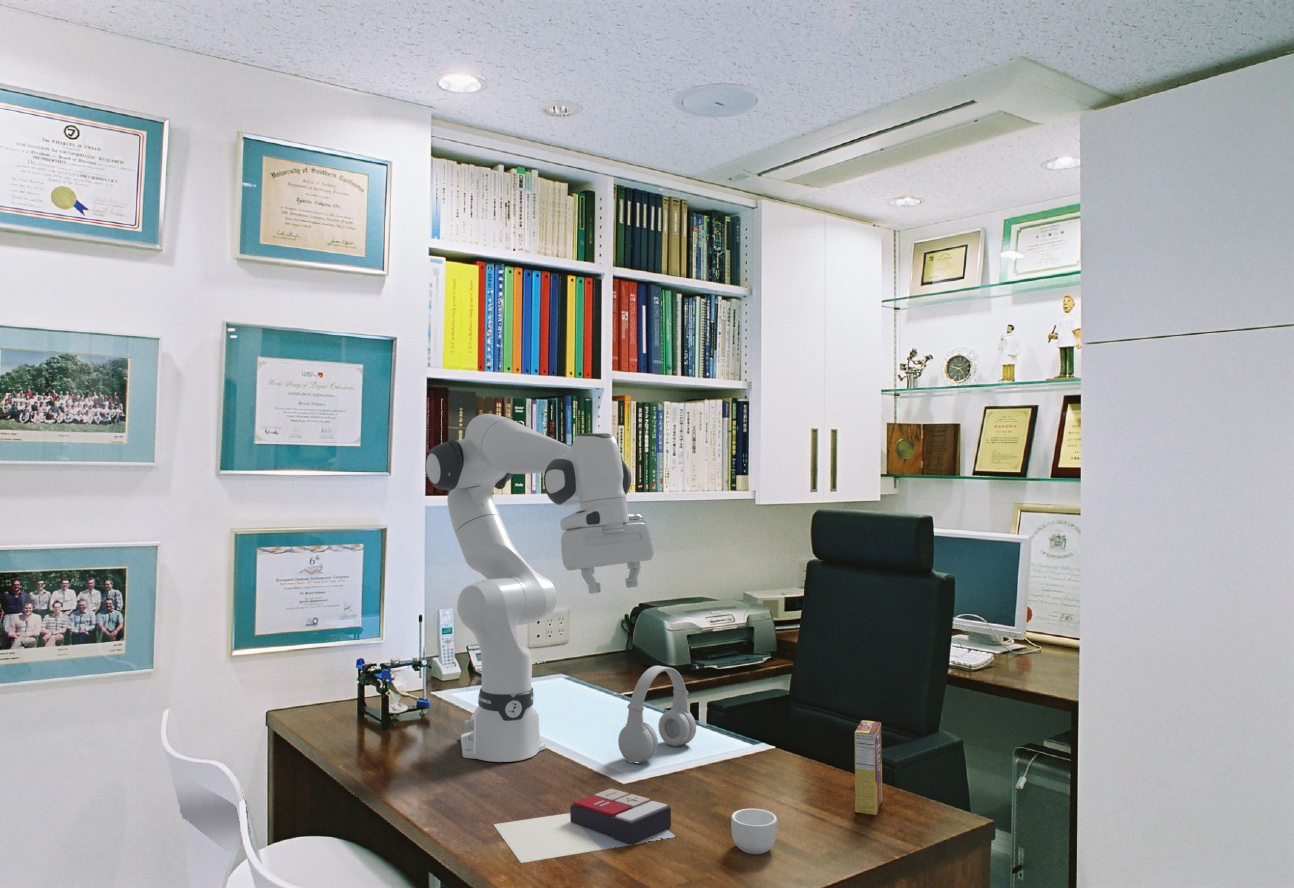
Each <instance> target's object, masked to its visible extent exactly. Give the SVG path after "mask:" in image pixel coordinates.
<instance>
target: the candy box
mask: <svg viewBox="0 0 1294 888" xmlns="http://www.w3.org/2000/svg"><path fill="white" fill-rule="evenodd" d="M882 750H883V749H882V722H880V721H872V720H861V721H860V723H859V724H858V726H857V728H856V729H855V732H854V804H855V805H854V812H855V813H858V814H864V815H871V816H877V814H878V811H879V809H880V806H881V803H882V800H883V773H882V772H883V763H882V762H883V761H882V759H883V758H882V755H883V754H882Z"/></svg>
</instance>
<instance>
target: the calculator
mask: <svg viewBox="0 0 1294 888" xmlns="http://www.w3.org/2000/svg"><path fill="white" fill-rule="evenodd" d="M569 808H570V811H569V813H570V818H571V822H572V823H575V824H578V825H582V826H585V827H588V828H591V829H594V830H598V831H601V832H604V833H607V834H610V835H612V836H613V837H614V839H615V840H618V841H621V842H624V843H628V844H634V843H636V842H638V841H640V840H643V839H645V838H647V837H649V836H652V835H654V834H656V833H658V832H661V831H663V830H665V829H669V828H671V827H672V810H671V806H670V805H668V804H666V803H662V802H658V801H655V800H651V799H650V798H649V797H645V796H641V795H637V794H634V793H633V794H632V793H630V794H629V793H628V792H625V791H622V790H618V789H614V788H609V789H606V790H603V791H600V792H598V793H595V794H594V795H589V796H587V797H583V798H582V799H581V798H580V799H579V800H576V801H574V802H573V804H570V807H569ZM634 845H635V844H634Z"/></svg>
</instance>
